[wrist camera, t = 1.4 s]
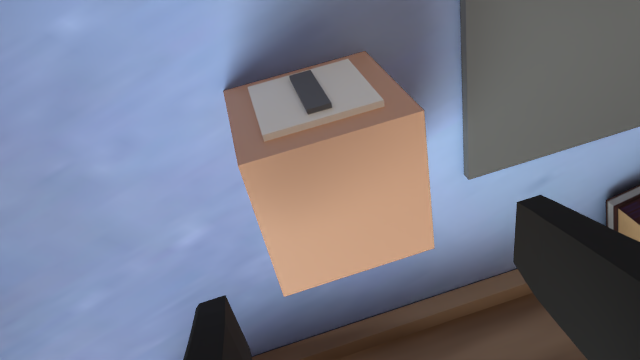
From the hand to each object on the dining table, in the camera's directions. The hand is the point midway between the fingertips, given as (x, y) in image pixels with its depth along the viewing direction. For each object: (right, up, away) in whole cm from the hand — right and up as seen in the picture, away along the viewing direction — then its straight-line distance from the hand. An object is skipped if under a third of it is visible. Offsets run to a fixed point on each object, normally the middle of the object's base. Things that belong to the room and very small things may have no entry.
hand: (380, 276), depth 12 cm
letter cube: (-2, +4, +6) cm, 8 cm away
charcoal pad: (+8, +7, +7) cm, 13 cm away
